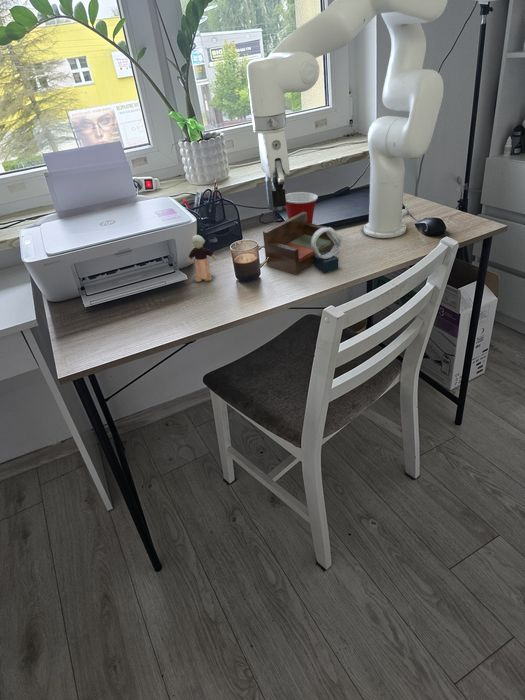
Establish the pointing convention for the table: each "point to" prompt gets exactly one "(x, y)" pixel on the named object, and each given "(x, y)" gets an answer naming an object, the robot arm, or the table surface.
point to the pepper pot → (269, 194)
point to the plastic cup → (301, 204)
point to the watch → (327, 259)
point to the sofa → (294, 244)
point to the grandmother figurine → (201, 259)
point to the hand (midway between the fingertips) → (276, 202)
